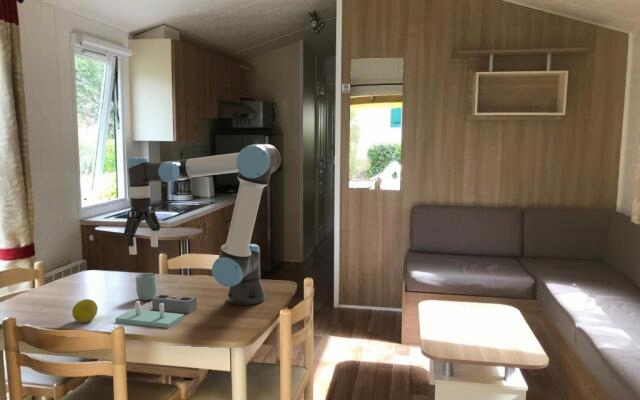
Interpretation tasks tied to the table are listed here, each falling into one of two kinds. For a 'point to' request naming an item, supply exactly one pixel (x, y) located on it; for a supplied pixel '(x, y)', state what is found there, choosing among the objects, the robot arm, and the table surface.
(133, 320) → the pegboard
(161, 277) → the table surface
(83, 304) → the lemon
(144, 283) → the cup
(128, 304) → the table surface
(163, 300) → the grey rectangular block
